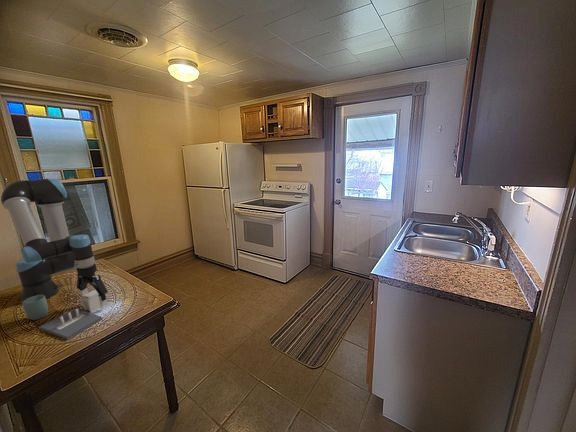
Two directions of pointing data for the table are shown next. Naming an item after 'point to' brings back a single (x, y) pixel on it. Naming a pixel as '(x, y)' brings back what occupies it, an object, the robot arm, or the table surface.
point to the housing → (91, 301)
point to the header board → (70, 323)
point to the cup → (35, 307)
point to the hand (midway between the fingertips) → (95, 303)
